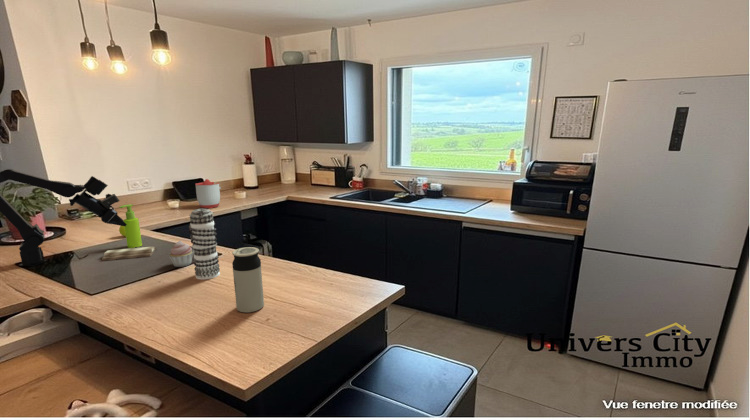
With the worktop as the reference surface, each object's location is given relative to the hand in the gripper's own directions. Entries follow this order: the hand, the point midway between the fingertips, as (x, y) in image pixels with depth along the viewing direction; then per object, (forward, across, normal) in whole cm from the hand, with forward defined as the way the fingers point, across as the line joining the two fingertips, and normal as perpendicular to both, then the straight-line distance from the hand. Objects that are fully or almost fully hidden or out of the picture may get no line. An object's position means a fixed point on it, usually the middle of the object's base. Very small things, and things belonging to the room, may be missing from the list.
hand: (124, 223), depth 173 cm
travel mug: (+22, -97, -6) cm, 100 cm away
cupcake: (+18, -42, -1) cm, 46 cm away
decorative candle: (+21, -61, -4) cm, 65 cm away
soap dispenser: (+10, 0, +7) cm, 12 cm away
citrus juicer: (+50, +74, -33) cm, 96 cm away
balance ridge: (+7, -14, +9) cm, 18 cm away
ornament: (+10, +23, +6) cm, 26 cm away
